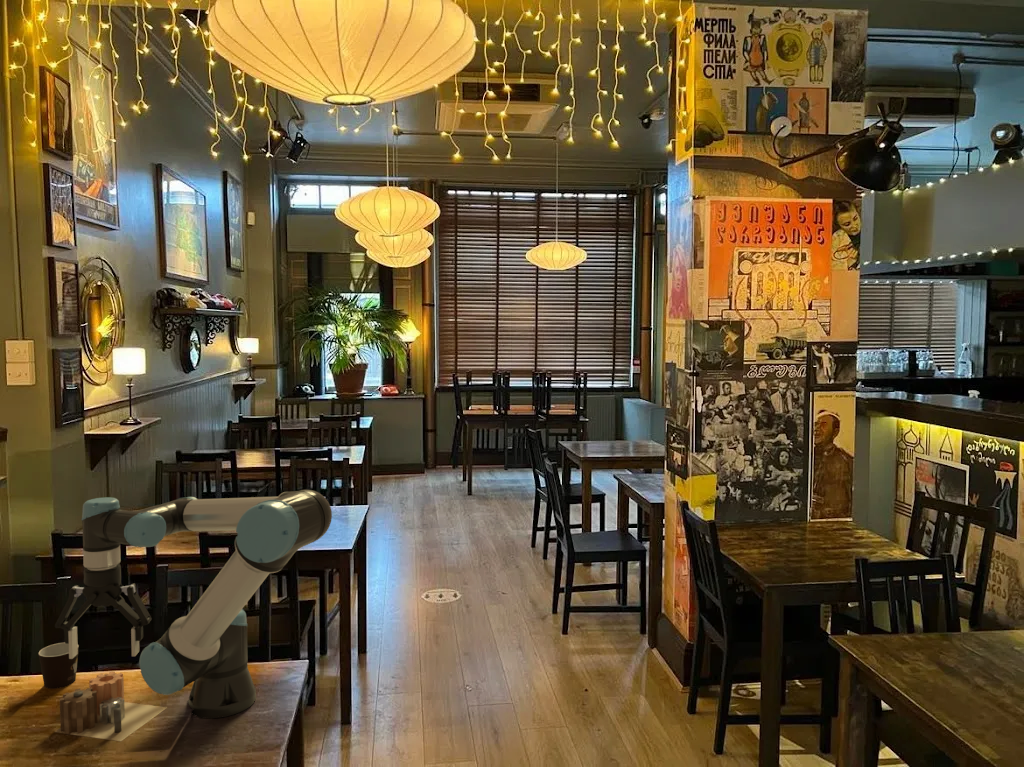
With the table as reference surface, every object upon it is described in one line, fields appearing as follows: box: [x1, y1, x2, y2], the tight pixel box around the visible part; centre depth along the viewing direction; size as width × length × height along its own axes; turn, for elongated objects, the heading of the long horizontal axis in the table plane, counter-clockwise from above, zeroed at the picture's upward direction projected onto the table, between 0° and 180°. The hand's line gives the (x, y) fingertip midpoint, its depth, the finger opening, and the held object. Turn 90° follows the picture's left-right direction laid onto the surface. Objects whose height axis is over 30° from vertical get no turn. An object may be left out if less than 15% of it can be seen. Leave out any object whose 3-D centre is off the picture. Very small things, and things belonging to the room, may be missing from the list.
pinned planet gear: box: [59, 687, 98, 735], centre depth 168 cm, size 7×7×8 cm
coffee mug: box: [38, 642, 80, 690], centre depth 190 cm, size 12×9×10 cm
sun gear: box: [100, 697, 125, 725], centre depth 171 cm, size 5×5×4 cm
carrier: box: [54, 701, 168, 742], centre depth 171 cm, size 17×15×6 cm
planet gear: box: [88, 671, 125, 716], centre depth 176 cm, size 7×7×7 cm
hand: (104, 655), depth 176 cm, fingers open, 13 cm apart
